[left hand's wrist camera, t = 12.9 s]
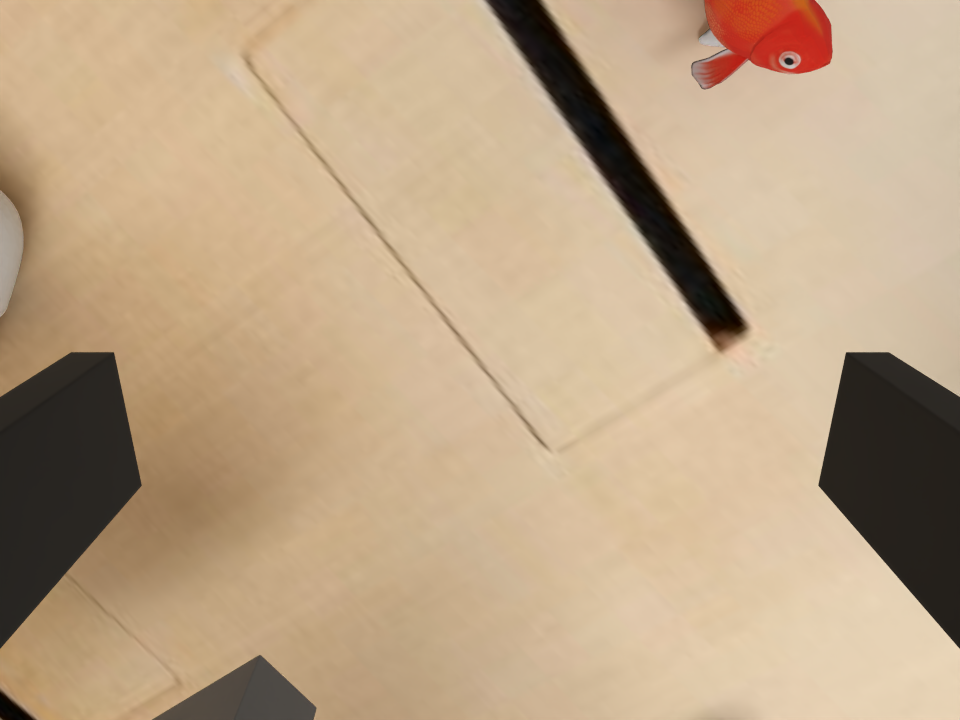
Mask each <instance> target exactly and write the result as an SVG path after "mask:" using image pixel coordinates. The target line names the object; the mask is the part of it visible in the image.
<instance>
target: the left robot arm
mask: <svg viewBox="0 0 960 720" xmlns="http://www.w3.org/2000/svg"><path fill="white" fill-rule="evenodd" d="M141 486H142V485H141V480H140V475H139V471H138V466H137V461H136V456H135V451H134V447H133V442H132V437H131V432H130V427H129V423H128V418H127V413H126V408H125V403H124V399H123V394H122V389H121V384H120V379H119V375H118V370H117V365H116V360H115V355H114V352H71V353H69V354H68V355H66V356H65V357H63V358H62V359H60V360H58V361H57V362H55V363H54V364H52V365H50V366H49V367H47V368H46V369H44V370H42V371H41V372H39V373H38V374H36V375H35V376H33V377H31V378H30V379H28V380H27V381H25V382H23V383H22V384H20V385H19V386H17V387H15V388H14V389H12V390H11V391H9V392H8V393H6V394H4V395H3V396H1V397H0V648H1V647H2V646H3V645H4V644H5V643H6V641H7V640H8V639H9V638H10V637H11V636H12V634H13V633H14V632H15V631H16V630H17V629H18V628H19V626H20V625H21V624H22V623H23V622H24V621H25V619H26V618H27V617H28V616H29V615H30V614H31V613H32V611H33V610H34V609H35V608H36V607H37V606H38V604H39V603H40V602H41V601H42V600H43V599H44V598H45V596H46V595H47V594H48V593H49V592H50V591H51V589H52V588H53V587H54V586H55V585H56V584H57V583H58V581H59V580H60V579H61V578H62V577H63V576H64V574H65V573H66V572H67V571H68V570H69V569H70V568H71V566H72V565H73V564H74V563H75V562H76V561H77V559H78V558H79V557H80V556H81V555H82V554H83V553H84V551H85V550H86V549H87V548H88V547H89V546H90V544H91V543H92V542H93V541H94V540H95V539H96V538H97V536H98V535H99V534H100V533H101V532H102V531H103V529H104V528H105V527H106V526H107V525H108V524H109V523H110V521H111V520H112V519H113V518H114V517H115V516H116V514H117V513H118V512H119V511H120V510H121V509H122V508H123V506H124V505H125V504H126V503H127V502H128V501H129V499H130V498H131V497H132V496H133V495H134V494H135V493H136V491H137V490H138V489H139V488H140V487H141ZM818 486H819V487H820V488H821V489H822V490H823V491H824V493H825V494H826V495H827V496H828V497H829V498H830V499H831V501H832V502H833V503H834V504H835V505H836V506H837V508H838V509H839V510H840V511H841V512H842V513H843V514H844V516H845V517H846V518H847V519H848V520H849V521H850V523H851V524H852V525H853V526H854V527H855V528H856V529H857V531H858V532H859V533H860V534H861V535H862V536H863V538H864V539H865V540H866V541H867V542H868V543H869V544H870V546H871V547H872V548H873V549H874V550H875V551H876V553H877V554H878V555H879V556H880V557H881V558H882V559H883V561H884V562H885V563H886V564H887V565H888V566H889V568H890V569H891V570H892V571H893V572H894V573H895V574H896V576H897V577H898V578H899V579H900V580H901V581H902V583H903V584H904V585H905V586H906V587H907V588H908V589H909V591H910V592H911V593H912V594H913V595H914V596H915V598H916V599H917V600H918V601H919V602H920V603H921V604H922V606H923V607H924V608H925V609H926V610H927V611H928V613H929V614H930V615H931V616H932V617H933V618H934V619H935V621H936V622H937V623H938V624H939V625H940V626H941V628H942V629H943V630H944V631H945V632H946V633H947V634H948V636H949V637H950V638H951V639H952V640H953V641H954V643H955V644H956V645H957V646H958V647H959V648H960V397H959V396H957V395H956V394H954V393H952V392H951V391H949V390H948V389H946V388H945V387H943V386H941V385H940V384H938V383H937V382H935V381H933V380H932V379H930V378H929V377H927V376H925V375H924V374H922V373H921V372H919V371H918V370H916V369H914V368H913V367H911V366H910V365H908V364H906V363H905V362H903V361H902V360H900V359H898V358H897V357H895V356H894V355H892V354H891V353H889V352H846V355H845V360H844V365H843V370H842V375H841V379H840V384H839V389H838V394H837V399H836V403H835V408H834V413H833V418H832V423H831V427H830V432H829V437H828V442H827V447H826V451H825V456H824V461H823V466H822V471H821V475H820V480H819V485H818Z"/></svg>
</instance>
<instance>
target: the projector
mask: <svg viewBox="0 0 960 720" xmlns="http://www.w3.org/2000/svg"><path fill="white" fill-rule="evenodd" d="M23 247H24V236H23V228H22V222H21V219H20V216H19V213H18V211H17V209H16V208H15V206H14V204H13V203H12V202H11V200H10V199H9V198H8V197H7V196H6V195H5V194H4V193H3V192H2V191H1V190H0V317H1V316H2V315H3V314H4V313H5V311H6V310H7V307H8V304H9V301H10V298H11V295H12V292H13V289H14V285H15V282H16V279H17V276H18V272H19V268H20V264H21V260H22V254H23Z"/></svg>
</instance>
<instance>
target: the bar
mask: <svg viewBox="0 0 960 720" xmlns="http://www.w3.org/2000/svg"><path fill="white" fill-rule="evenodd" d="M315 712H316V707H315V706H314V705H313V704H312V703H311V702H310V701H309V700H308V699H307V698H306V697H305V696H304V695H303V694H301V693H300V692H299V691H298V690H297V689H296V688H295V687H294V686H293V685H292V684H291V683H290V682H289V681H288V680H287V679H286V678H284V677H283V676H282V675H281V674H280V673H279V672H278V671H277V670H276V669H275V668H274V667H273V666H272V665H271V664H270V663H268V662H267V661H266V660H265V659H264V658H263V657H262V656H261V655H259V656H257V657H255V658H254V659H252V660H250V661H249V662H247V663H245V664H244V665H242V666H240V667H239V668H237V669H236V670H234V671H232V672H231V673H229V674H227V675H226V676H224V677H222V678H221V679H219V680H217V681H216V682H214V683H212V684H211V685H209V686H207V687H206V688H204V689H202V690H201V691H199V692H197V693H196V694H194V695H192V696H191V697H189V698H187V699H186V700H184V701H182V702H181V703H179V704H177V705H176V706H174V707H172V708H171V709H169V710H167V711H166V712H164V713H162V714H161V715H159V716H157V717H156V718H154V719H152V720H313V719H314V716H315Z"/></svg>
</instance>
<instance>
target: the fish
mask: <svg viewBox="0 0 960 720" xmlns="http://www.w3.org/2000/svg"><path fill="white" fill-rule="evenodd" d="M705 12H706V17H707V21H708V24H709V27H710V29H709V30H708V31H707V32H706V33H704V34H703V35H702V36H701V37H700V38H699V42H700V43H701V44H702V45H708V46H720V47H726V48H727V49H725V50H723V51H721V52H719V53H717V54H715V55H713V56H711V57H709V58H706V59H703V60H699V61H695V62H693V63H692V66H691V68H692V76H693V77H694V78H695V79H696V81H697V82H698V83H699V85H700V86H701V88H702V89H709V88H711V87H713V86H715V85H716V84H719V83H721V82H723V81H724V80H726V79H727V78H728V77H729V76H731V75H732V74H733V73H734V72H735V71H736V70H737V69H739V68H740V67H741V66H742V65H743V64H744V63H745V62H746V61H747V60H750V61H751V62H752V63H753V64H755V65H757V66H760V67H763V68H767V69H770V70H773V71H777V72H781V73H786V74H800V73H805V72H810V71H814V70H817V69H819V68H822V67H824V66H826V65H828V64H830V61H831V58H832V52H833V51H832V34H831V23H830V21H829V19H828V18H827V16H826V14H825V12H824V11H823V9H822V8H821V7H820V5H819V4H818V3H817V2H816V1H815V0H705Z"/></svg>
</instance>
